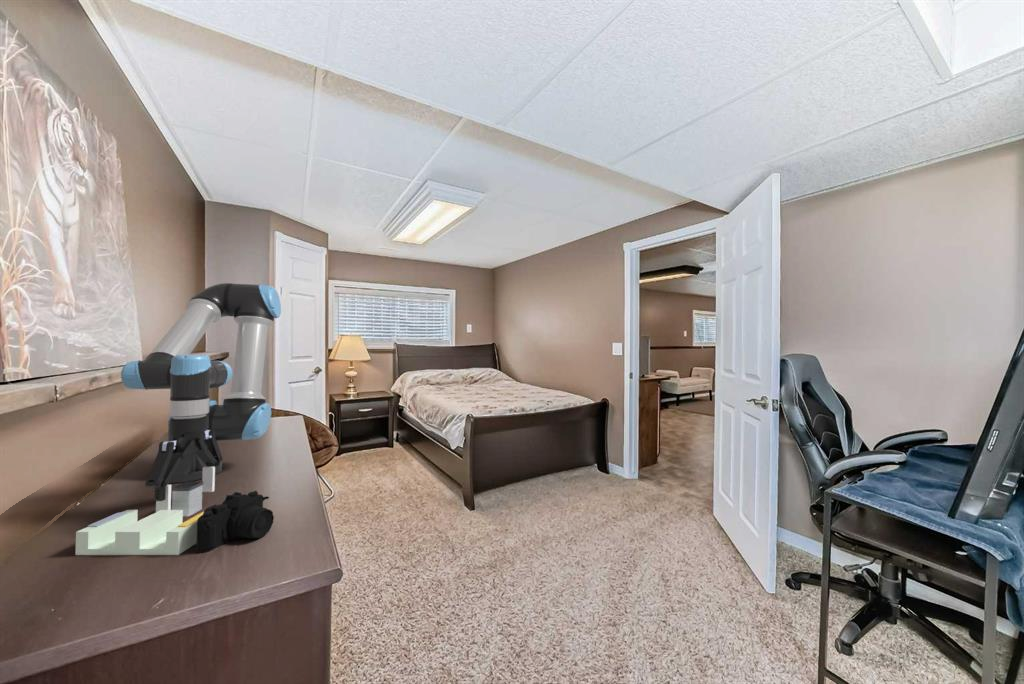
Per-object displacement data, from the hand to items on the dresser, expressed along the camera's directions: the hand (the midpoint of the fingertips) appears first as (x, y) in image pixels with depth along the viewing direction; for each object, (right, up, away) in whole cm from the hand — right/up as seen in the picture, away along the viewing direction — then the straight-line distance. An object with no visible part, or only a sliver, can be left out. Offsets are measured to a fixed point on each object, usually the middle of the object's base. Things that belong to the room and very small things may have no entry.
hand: (187, 501), depth 93 cm
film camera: (+22, -3, -11) cm, 25 cm away
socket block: (+4, -3, -14) cm, 15 cm away
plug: (0, -3, 0) cm, 3 cm away
